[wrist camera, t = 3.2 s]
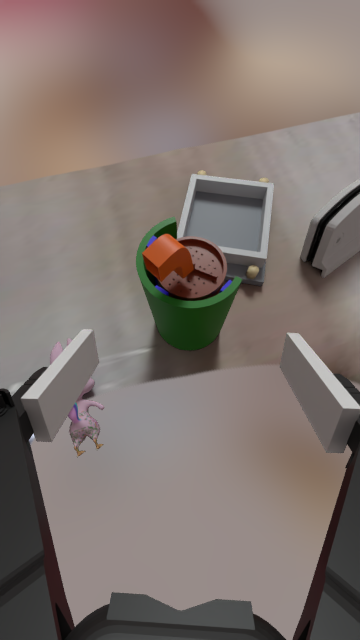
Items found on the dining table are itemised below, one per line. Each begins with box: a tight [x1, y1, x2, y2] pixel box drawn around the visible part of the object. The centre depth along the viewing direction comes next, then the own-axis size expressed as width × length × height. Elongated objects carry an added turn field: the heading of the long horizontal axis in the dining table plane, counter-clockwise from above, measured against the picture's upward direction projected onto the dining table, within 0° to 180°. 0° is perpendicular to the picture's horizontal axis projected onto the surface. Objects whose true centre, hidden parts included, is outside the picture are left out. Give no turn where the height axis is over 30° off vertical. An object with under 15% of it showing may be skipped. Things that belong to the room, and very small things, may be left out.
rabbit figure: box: [50, 338, 104, 457], centre depth 31 cm, size 6×6×15 cm
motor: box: [136, 217, 242, 350], centre depth 27 cm, size 10×9×20 cm
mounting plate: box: [177, 171, 274, 286], centre depth 40 cm, size 15×20×4 cm
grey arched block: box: [300, 179, 360, 278], centre depth 37 cm, size 17×5×10 cm, turn 126°
